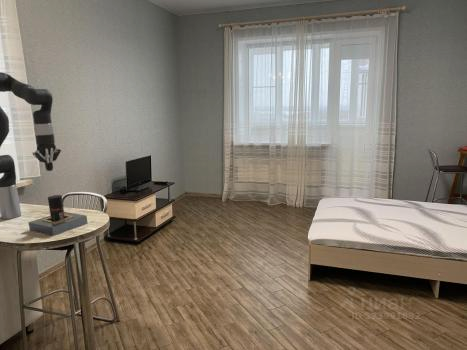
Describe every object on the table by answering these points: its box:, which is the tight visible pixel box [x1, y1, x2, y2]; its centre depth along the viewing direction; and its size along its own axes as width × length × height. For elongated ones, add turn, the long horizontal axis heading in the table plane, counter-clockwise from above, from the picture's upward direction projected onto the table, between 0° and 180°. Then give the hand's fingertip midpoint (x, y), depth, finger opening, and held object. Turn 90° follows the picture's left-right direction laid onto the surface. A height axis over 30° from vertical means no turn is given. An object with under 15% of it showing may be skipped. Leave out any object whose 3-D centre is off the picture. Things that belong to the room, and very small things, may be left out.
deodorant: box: [47, 194, 65, 222], centre depth 164 cm, size 6×6×15 cm
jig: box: [27, 211, 88, 237], centre depth 165 cm, size 18×18×4 cm
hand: (49, 170), depth 162 cm, fingers closed
